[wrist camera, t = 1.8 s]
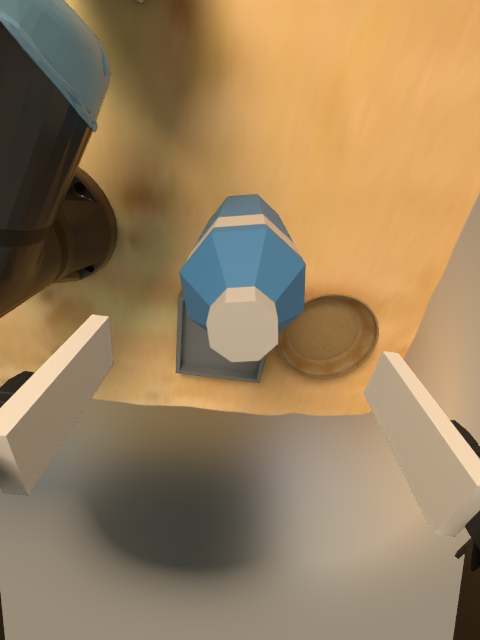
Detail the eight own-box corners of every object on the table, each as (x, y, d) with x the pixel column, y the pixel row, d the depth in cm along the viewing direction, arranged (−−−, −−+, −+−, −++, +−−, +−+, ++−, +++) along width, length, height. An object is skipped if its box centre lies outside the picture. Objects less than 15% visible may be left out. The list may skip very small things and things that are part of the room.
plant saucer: (344, 266, 40) (350, 273, 38) (388, 339, 46) (395, 348, 44) (256, 322, 45) (257, 331, 42) (306, 381, 50) (309, 392, 48)
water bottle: (291, 247, 39) (350, 364, 17) (229, 276, 41) (210, 414, 19) (262, 177, 35) (290, 213, 13) (195, 214, 37) (121, 298, 15)
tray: (178, 364, 49) (175, 372, 47) (181, 289, 42) (178, 296, 40) (259, 374, 49) (259, 382, 47) (274, 302, 43) (276, 308, 41)
